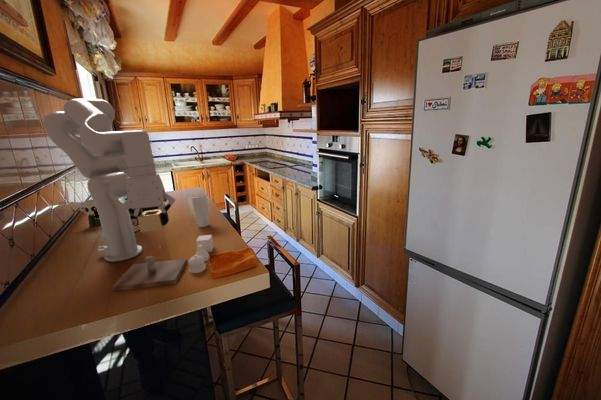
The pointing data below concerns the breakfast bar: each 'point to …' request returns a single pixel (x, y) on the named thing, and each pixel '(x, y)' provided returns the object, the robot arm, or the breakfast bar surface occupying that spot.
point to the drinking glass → (201, 209)
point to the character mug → (90, 212)
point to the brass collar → (150, 221)
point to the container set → (201, 254)
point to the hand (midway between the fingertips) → (154, 224)
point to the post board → (151, 274)
